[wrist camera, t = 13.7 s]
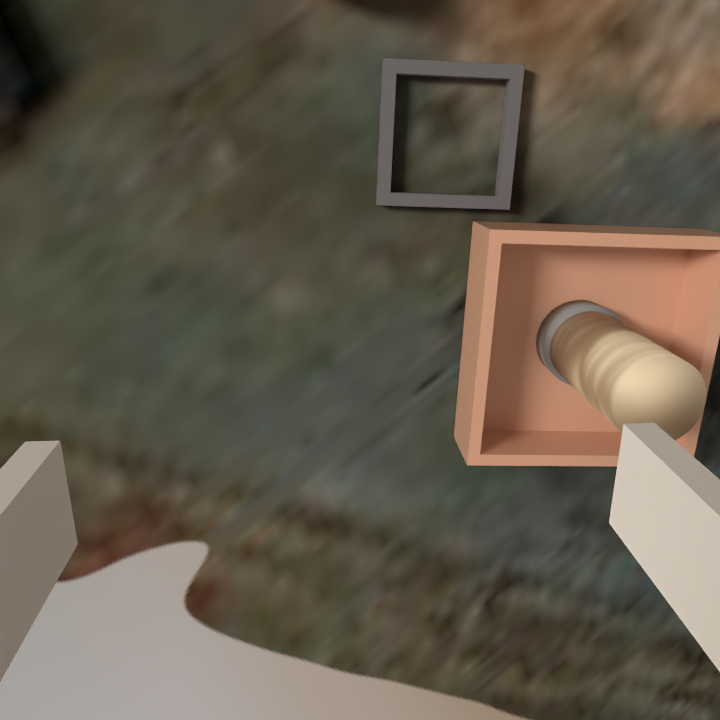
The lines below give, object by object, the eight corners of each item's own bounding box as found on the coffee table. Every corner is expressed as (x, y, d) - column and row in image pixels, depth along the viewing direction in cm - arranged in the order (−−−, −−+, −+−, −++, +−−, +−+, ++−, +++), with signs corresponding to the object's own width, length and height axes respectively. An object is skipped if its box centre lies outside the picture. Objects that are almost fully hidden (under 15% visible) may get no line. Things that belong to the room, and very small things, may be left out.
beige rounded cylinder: (541, 298, 45) (616, 350, 34) (620, 300, 45) (721, 352, 34) (531, 376, 47) (600, 450, 35) (608, 377, 47) (700, 451, 36)
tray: (473, 221, 44) (490, 229, 39) (699, 228, 45) (740, 237, 40) (453, 436, 49) (467, 465, 44) (659, 438, 50) (691, 466, 45)
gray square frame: (382, 60, 40) (384, 58, 40) (520, 66, 41) (524, 65, 40) (376, 203, 43) (377, 205, 42) (505, 208, 44) (509, 209, 43)
